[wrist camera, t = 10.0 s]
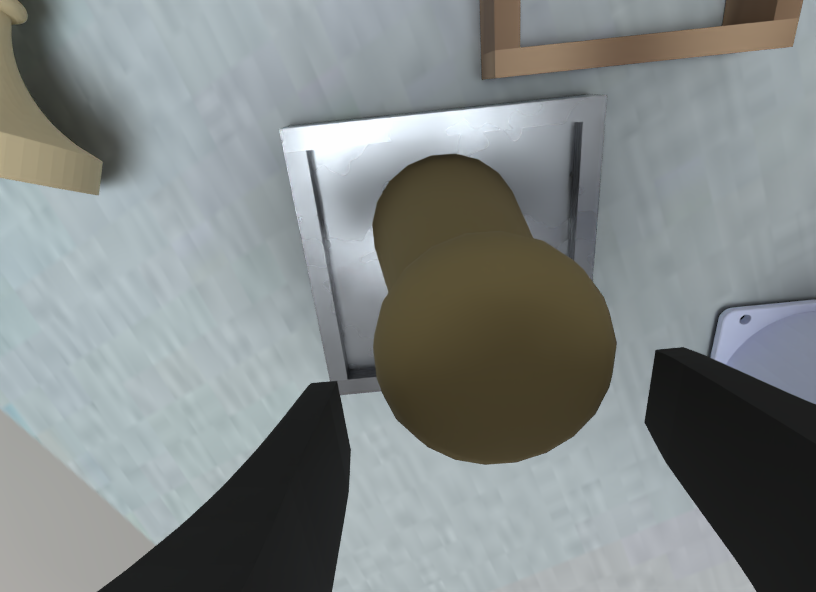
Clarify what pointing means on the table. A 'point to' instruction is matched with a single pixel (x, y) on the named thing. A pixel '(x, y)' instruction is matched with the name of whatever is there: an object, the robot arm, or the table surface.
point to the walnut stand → (633, 40)
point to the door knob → (35, 128)
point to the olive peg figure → (482, 318)
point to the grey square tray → (410, 142)
